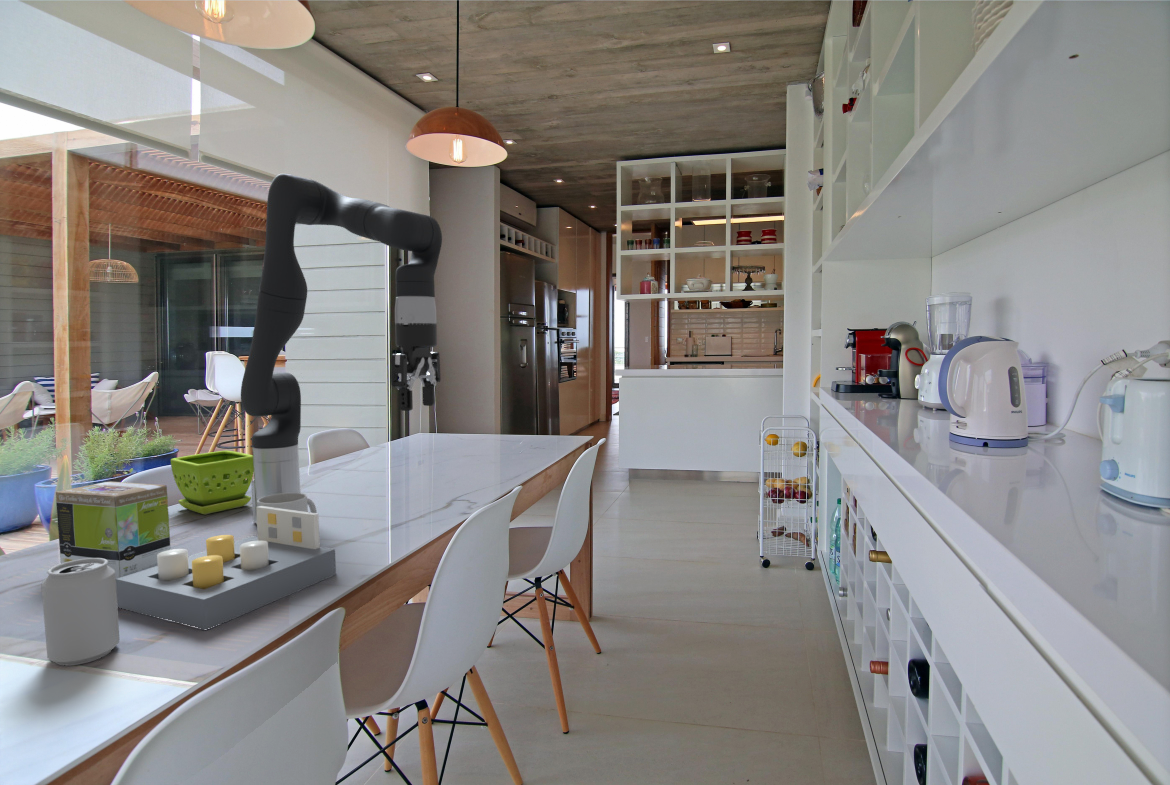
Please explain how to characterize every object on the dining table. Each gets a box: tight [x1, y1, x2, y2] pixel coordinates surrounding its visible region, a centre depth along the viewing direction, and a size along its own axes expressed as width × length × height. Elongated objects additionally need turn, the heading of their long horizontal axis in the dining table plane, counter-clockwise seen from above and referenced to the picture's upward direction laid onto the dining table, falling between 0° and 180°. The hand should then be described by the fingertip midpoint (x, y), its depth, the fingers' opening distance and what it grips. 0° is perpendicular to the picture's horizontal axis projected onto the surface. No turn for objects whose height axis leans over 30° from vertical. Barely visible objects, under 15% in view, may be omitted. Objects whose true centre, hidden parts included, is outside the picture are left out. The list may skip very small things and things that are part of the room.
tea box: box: [55, 481, 172, 580], centre depth 118 cm, size 15×10×15 cm, turn 71°
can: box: [41, 558, 120, 667], centre depth 85 cm, size 8×8×12 cm
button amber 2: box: [192, 555, 224, 589], centre depth 99 cm, size 4×4×5 cm
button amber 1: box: [205, 534, 235, 563], centre depth 109 cm, size 4×4×5 cm
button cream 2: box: [240, 540, 269, 571], centre depth 106 cm, size 4×4×5 cm
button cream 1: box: [157, 548, 189, 581], centre depth 102 cm, size 4×4×5 cm
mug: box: [257, 492, 318, 514], centre depth 129 cm, size 11×10×10 cm
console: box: [115, 506, 337, 630], centre depth 107 cm, size 20×24×10 cm
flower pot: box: [170, 450, 254, 516], centre depth 160 cm, size 14×14×13 cm
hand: (417, 407), depth 125 cm, fingers open, 8 cm apart
